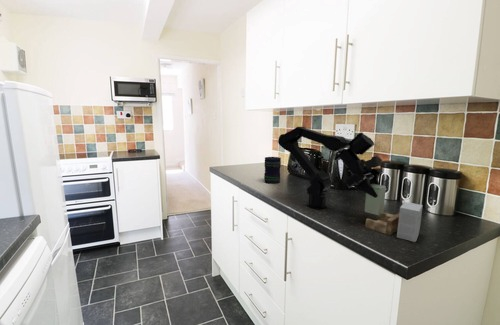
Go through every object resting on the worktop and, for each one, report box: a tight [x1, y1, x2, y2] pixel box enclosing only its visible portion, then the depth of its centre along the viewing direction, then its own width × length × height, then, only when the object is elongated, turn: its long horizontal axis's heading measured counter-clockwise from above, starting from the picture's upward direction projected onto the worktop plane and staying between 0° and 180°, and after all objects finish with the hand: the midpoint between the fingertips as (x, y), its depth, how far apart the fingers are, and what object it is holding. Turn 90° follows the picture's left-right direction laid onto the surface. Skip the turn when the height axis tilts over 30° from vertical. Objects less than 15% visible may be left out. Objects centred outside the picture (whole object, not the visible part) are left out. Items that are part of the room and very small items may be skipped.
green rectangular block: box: [364, 184, 387, 216], centre depth 96 cm, size 5×5×10 cm
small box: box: [396, 201, 423, 243], centre depth 86 cm, size 8×6×10 cm
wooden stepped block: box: [365, 212, 399, 236], centre depth 94 cm, size 8×12×5 cm
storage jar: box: [263, 156, 282, 185], centre depth 158 cm, size 10×10×15 cm
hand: (379, 195), depth 95 cm, fingers closed on green rectangular block, 4 cm apart
